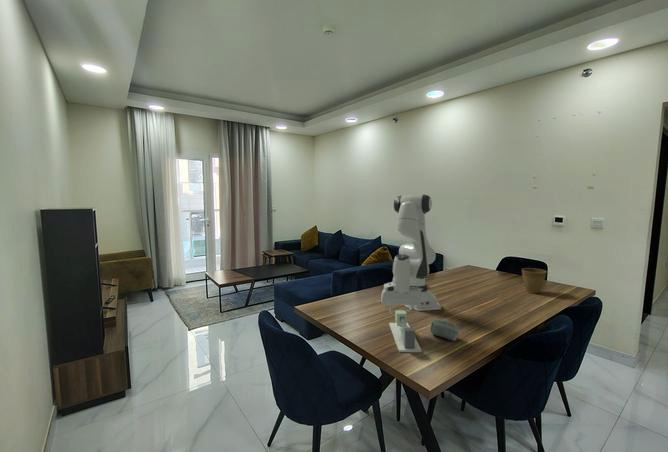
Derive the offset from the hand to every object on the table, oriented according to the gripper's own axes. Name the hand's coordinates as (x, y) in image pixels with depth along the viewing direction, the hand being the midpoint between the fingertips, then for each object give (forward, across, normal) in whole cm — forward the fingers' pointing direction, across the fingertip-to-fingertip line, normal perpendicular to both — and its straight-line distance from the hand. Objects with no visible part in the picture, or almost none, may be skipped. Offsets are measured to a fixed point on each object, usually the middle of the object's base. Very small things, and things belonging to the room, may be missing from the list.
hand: (400, 312), depth 163 cm
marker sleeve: (+5, -1, 0) cm, 5 cm away
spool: (+10, -21, +7) cm, 24 cm away
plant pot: (+7, -106, -65) cm, 125 cm away
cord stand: (+10, -1, +8) cm, 12 cm away
